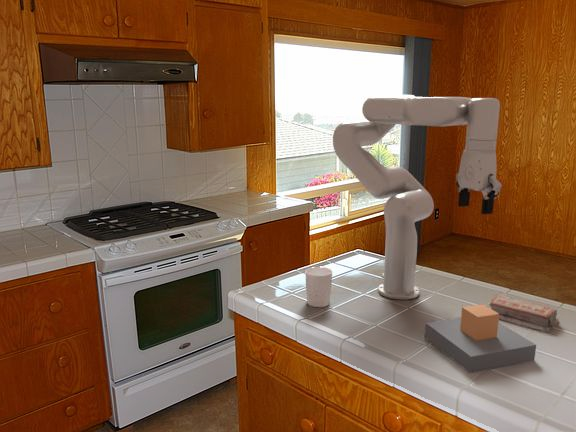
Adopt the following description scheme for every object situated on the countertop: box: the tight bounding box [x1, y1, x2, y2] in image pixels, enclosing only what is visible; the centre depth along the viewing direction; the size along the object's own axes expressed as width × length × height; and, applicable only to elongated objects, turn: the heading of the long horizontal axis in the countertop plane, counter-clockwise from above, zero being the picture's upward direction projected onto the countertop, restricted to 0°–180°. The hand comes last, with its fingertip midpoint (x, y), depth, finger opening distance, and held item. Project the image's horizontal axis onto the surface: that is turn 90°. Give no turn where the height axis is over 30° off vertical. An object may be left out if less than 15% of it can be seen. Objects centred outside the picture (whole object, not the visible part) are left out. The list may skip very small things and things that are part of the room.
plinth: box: [424, 317, 537, 374], centre depth 125 cm, size 18×18×4 cm
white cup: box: [305, 266, 333, 308], centre depth 151 cm, size 8×8×10 cm
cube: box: [460, 304, 500, 341], centre depth 124 cm, size 6×6×6 cm
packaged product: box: [487, 294, 559, 333], centre depth 142 cm, size 18×5×10 cm
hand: (474, 209), depth 138 cm, fingers open, 9 cm apart
